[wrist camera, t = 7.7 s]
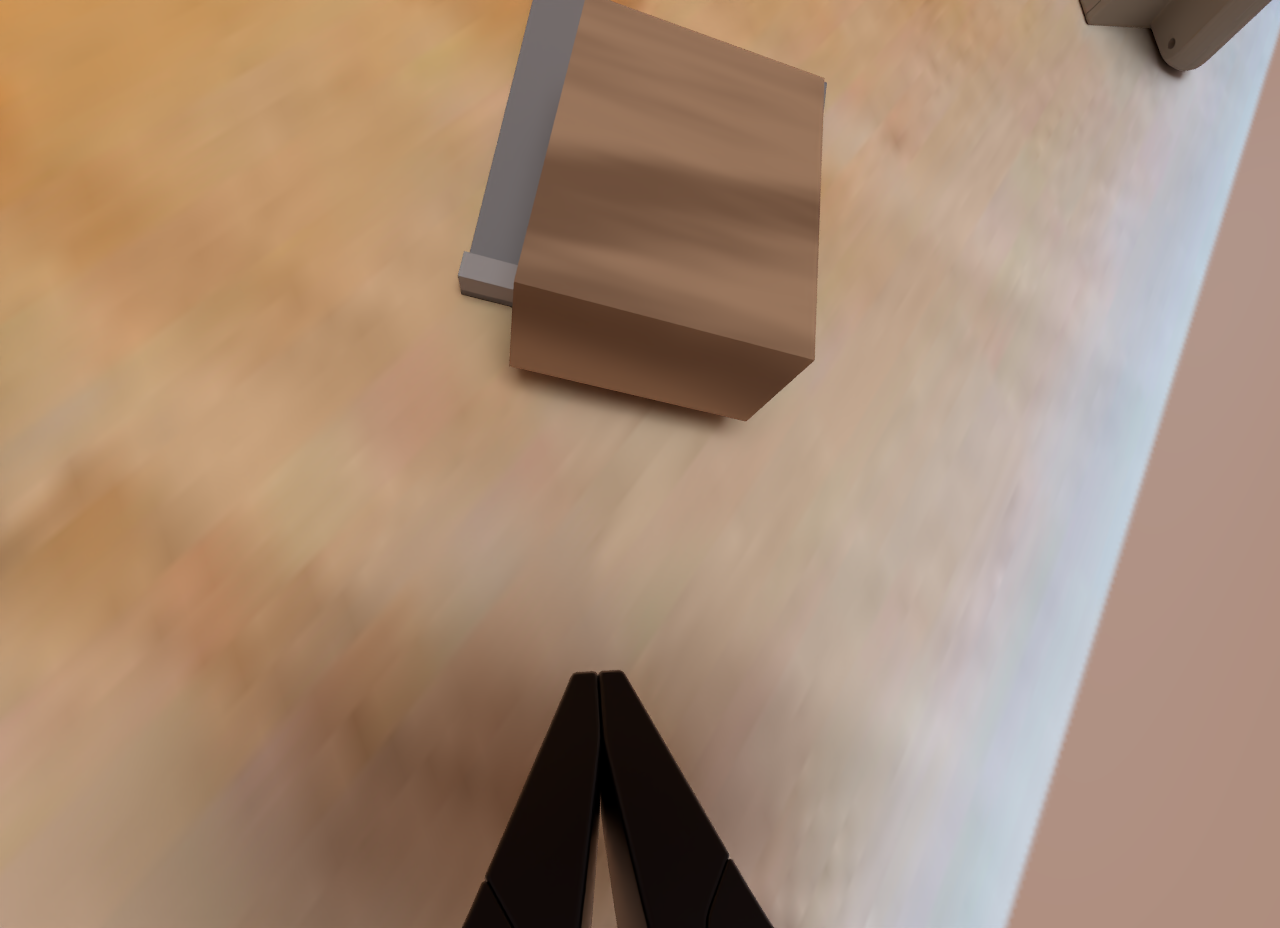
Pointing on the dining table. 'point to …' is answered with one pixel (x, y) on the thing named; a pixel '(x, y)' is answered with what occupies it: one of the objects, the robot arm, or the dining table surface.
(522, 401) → the dining table surface
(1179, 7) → the digital clock
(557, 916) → the robot arm
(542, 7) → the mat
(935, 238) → the dining table surface
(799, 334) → the walnut block
